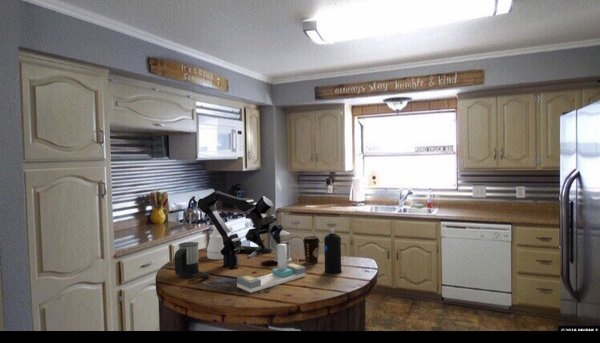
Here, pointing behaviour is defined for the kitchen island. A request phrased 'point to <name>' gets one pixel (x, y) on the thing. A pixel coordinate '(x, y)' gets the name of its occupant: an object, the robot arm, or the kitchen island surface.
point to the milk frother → (188, 261)
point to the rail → (269, 279)
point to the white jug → (215, 245)
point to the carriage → (282, 262)
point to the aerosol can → (332, 253)
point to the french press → (282, 233)
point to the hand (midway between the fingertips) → (272, 246)
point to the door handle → (253, 250)
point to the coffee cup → (311, 249)
